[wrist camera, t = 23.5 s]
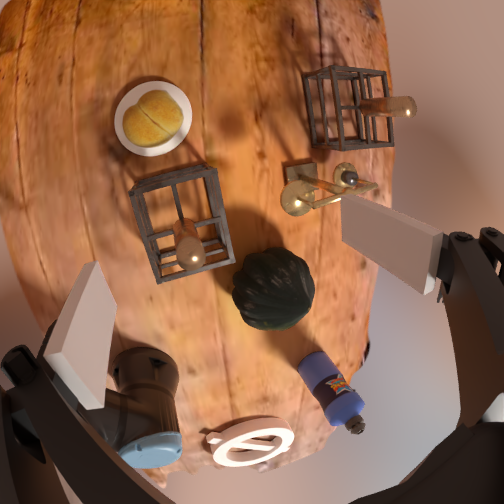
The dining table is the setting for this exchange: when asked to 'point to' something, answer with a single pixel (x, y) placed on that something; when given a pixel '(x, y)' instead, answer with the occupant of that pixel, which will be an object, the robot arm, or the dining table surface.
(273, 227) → the dining table surface
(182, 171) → the metal bar cube frame
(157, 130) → the bread roll
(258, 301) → the squash
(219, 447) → the ring with crossbar
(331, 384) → the water bottle
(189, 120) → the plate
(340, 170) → the balance
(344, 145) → the wire frame cage
